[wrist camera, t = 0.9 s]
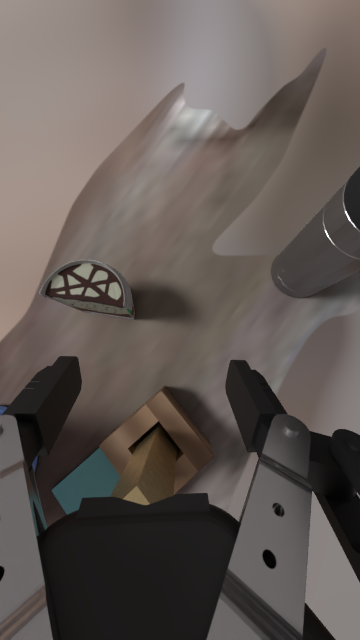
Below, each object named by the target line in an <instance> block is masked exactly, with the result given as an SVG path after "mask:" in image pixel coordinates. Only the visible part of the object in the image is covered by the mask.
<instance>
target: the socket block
mask: <svg viewBox="0 0 360 640" xmlns="http://www.w3.org/2000/svg"><path fill="white" fill-rule="evenodd" d="M158 421H159V422H160V423H161V425H162V426H163V427H164V429H165V430H166V431H167V432H168V434H169V435H170V436H171V438H172V439H173V440H174V441H175V443H176V444H177V445H178V446H177V457H176V470H175V484H174V494H175V493H176V492H177V491H178V490H179V489H180V488H181V487H183V486H184V485H185V484H186V483H187V482H188V481H189V480H190V479H191V478H192V477H193V476H194V475H195V474H196V473H197V472H198V471H199V470H200V469H201V468H202V467H203V466H204V465H206V464H207V463H208V462H209V461H210V460H211V459H212V458H213V457H214V456H213V452H212V449H211V446H210V442H209V441H208V440H207V438H206V437H205V436H204V435H203V433H202V432H201V431H200V430H199V428H198V427H197V426H196V425H195V423H194V422H193V421H192V420H191V418H190V417H189V416H188V415H187V414H186V412H185V411H184V410H183V409H182V407H181V406H180V405H179V404H178V402H177V401H176V400H175V399H174V397H173V396H172V395H171V394H170V392H169V391H168V390H167V389H166V388H165V386H164V387H163V388H162V389H161V390H159V391H158V392H157V393H156V394H155V395H154V396H153V397H152V398H150V399H149V400H148V401H147V402H146V403H145V404H144V405H142V406H141V407H140V408H139V409H138V410H137V411H136V412H134V413H133V414H132V415H131V416H130V417H129V418H128V419H127V420H125V421H124V422H123V423H122V424H121V425H120V426H119V427H117V428H116V429H115V430H114V431H113V432H112V433H111V434H110V435H109V436H108V437H107V438H106V439H105V440H104V441H103V442H102V443H101V444H100V445H99V447H100V448H101V450H102V451H103V453H104V454H105V455H106V457H107V458H108V460H109V461H110V462H111V464H112V465H113V467H114V468H115V469H116V471H117V472H118V474H119V475H120V476H121V474H122V473H123V471H124V469H125V467H126V465H127V463H128V461H129V459H130V458H131V456H132V454H133V452H134V450H135V448H136V446H137V444H138V443H139V441H140V440H139V438H140V437H141V436H142V435H143V434H144V433H146V432H147V431H148V430H149V429H150V428H151V427H152V426H153V425H154V424H156V423H157V422H158Z"/></svg>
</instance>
